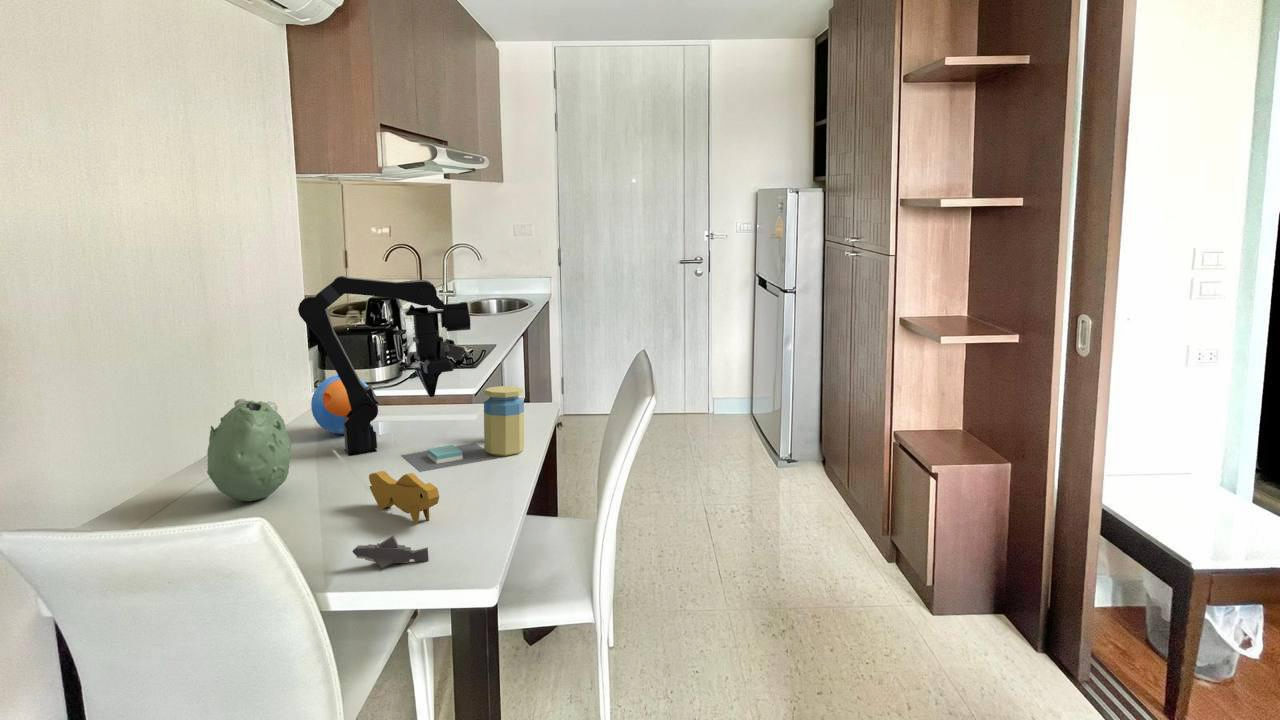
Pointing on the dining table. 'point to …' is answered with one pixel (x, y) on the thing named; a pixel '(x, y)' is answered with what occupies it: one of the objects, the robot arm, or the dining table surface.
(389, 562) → the animal figurine
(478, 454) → the mat
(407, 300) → the robot arm
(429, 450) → the tile
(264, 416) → the green rounded lump
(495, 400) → the jar
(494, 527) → the dining table surface
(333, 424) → the treat dispenser ball
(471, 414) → the dining table surface
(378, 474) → the decorative fish
